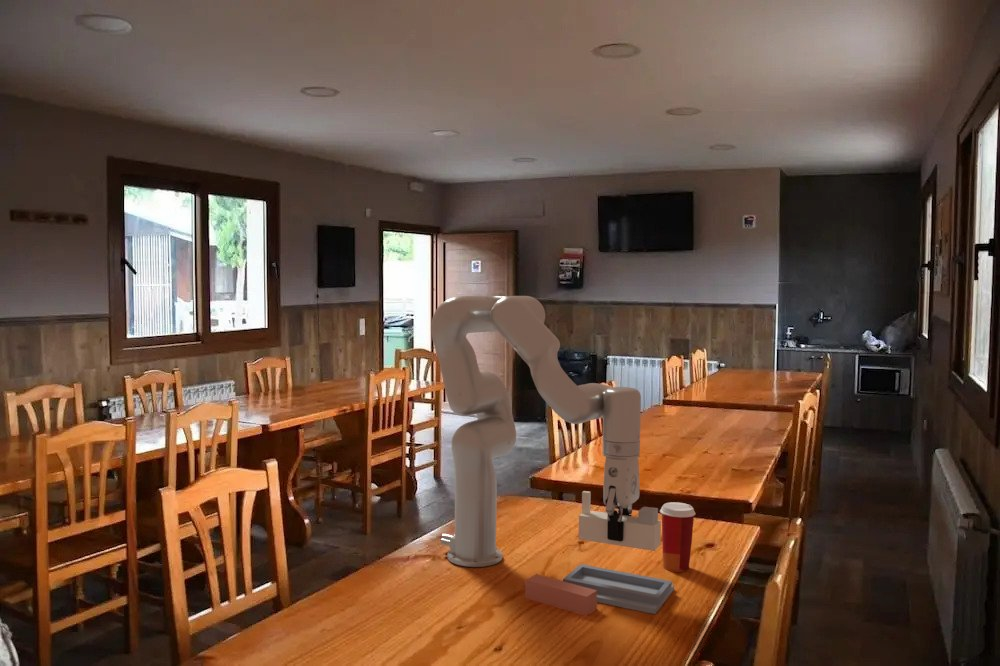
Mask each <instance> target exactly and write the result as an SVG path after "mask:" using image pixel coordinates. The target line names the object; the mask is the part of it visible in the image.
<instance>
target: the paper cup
mask: <svg viewBox="0 0 1000 666" xmlns="http://www.w3.org/2000/svg"><path fill="white" fill-rule="evenodd" d="M659 513H660V514H661V537H662V540H661V541H662V566H663V569H665V570H667V571H669V572H673V573H684V572H685V573H686V572H688V571H689V570H690V562H691V554H692V553H691V551H692V550H691V549H692V541H693V529H694V528H693V527H694V520H695V519H694V518H695V516H696V512H695V509H694V507H693V506H692V505H691V504H687V503H684V502H678V501H677V502H674V501H673V502H671V501H670V502H666V503H664V504H663V505H662V506H661V508H660V509H659Z"/></svg>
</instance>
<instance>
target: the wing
mask: <svg viewBox="0 0 1000 666" xmlns="http://www.w3.org/2000/svg"><path fill="white" fill-rule="evenodd" d="M524 590H525V594H524V597H525V599H527V600H531V601H534V602H538V603H541V604H543V605H544V604H545V605H549V606H551V607H555V608H557V609H558V608H559V609H562V610H565V611H569V612H572V613H576V614H579V615H583V616H588V615H590V614H591V613H593V612H594V611H595V610H597V604H598V602H597V590H594V589H590V588H586V587H582V586H579V585H575V584H571V583H567V582H564V581H563V580H559V579H556V578H552V577H548V576H545V575H542V574H537V573H536V574H534V575H533V576H530V577H527V579H525V589H524Z"/></svg>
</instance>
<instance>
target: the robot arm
mask: <svg viewBox="0 0 1000 666" xmlns="http://www.w3.org/2000/svg"><path fill="white" fill-rule="evenodd" d="M545 321H546V311H545V308H544V306H543V304H542V303H541V302H540V301H539V300H538V299H536V298H535V297H533V296H530V295H510V296H507V295H500V296H499V295H459V296H454V297H450V298H449V299H446V300H445V301H443V302H441V304H440V305H439V306H438V307H436V309H435V311H434V313H433V315H432V318H431V323H430V324H431V325H430V332H431V339H432V343H433V345H434V350H435V351H436V355H437V358H438V362H439V367H440V372H441V376H442V377H441V378H442V380H443V385H444V389H445V394H446V399H447V402H448V406H449V409H450V410H451V411H452V412H453V413H454V414H455V415H457V416H461V417H464V416H465V417H469V416H474V415H476V418H477V419H476V420H472V421H468V422H465V423H464V424H462V425H461V426H458V428H457V429H456V430H455V432H454V434H453V436H452V438H451V454H452V459H453V464H454V535H453V534H452V535H451V534H449V533H442V535H441V536H440V537H441V538H440V545H442V546H449V550H448V551H447V560H448V561H449V562H450V563H452V564H455V565H457V566H462V567H468V568H480V567H481V568H484V567H489V566H493V565H497V564H498V563H500V562H501V561H503V552H502V551H501V550H500V549H499V548H497V509H498V507H497V501H498V496H497V495H498V490H497V489H498V484H497V482H498V481H497V473H496V471H495V467H494V464H493V460H494V459H496V458H500V457H502V456H505V455H507V454H508V453H510V452H511V451H512V449H514V447H515V445H516V441H517V431H516V424H515V420H514V416H513V411H512V407H511V402H510V399H509V394H508V391H507V388H506V385H505V384H504V382H503V380H502V379H501V377H499V376H498V375H497V374H495V373H494V372H491V371H486V370H485V371H480V368H479V363H478V361H477V360H478V359H477V355H476V352H475V350H474V348H473V346H472V344H471V343H470V341H469V340H468V338H467V335H468V334H473V333H474V334H475V333H486V332H487V333H488V332H493V333H495V332H497V333H499V334H500V335H501V336H502V337H503V339H505V340H506V342H507V343H508V344H509V345H510V346H511V347H512V349H513V350H514V351H515V352H516V353H517V354H518V356H519V357H520V358H521V359H522V360H523V361H524V362H525V363H526V364H527V366H528V367H529V370H530V375H531V378H532V381H533V383H534V386H535V388H536V390H537V392H538V394H539V395H540V396H541V398H542V399H543V401H545V402H546V404H547V405H548V406H549V407H550V408H551V410H552V411H553V412H554V413H555V414H557V416H558V417H559V418H561V419H562V420H563V421H565V422H566V423H569V424H573V425H579V424H583V423H587V422H589V421H594V420H598V419H602V456H603V457H605V462H604V471H603V487H602V488H603V489H602V490H603V491H602V492H603V493H602V494H603V497H602V498H603V504H604V505H605V506H606V508H605V513H607V514H608V516H607V520H608V530H607V538H608V539H609V540H614V541H623V531H624V522H623V521H622V515H626V516H633V515H632V513H633V504H634V503H636V502H637V500H639V498H640V490H641V489H640V463H639V458H640V457H641V456H640V455H641V409H642V398H641V397H642V396H641V392H640V391H639V389H636V388H633V387H625V386H616V387H615V386H610V385H605V384H602V383H596V382H590V383H585V384H580V385H577V384H576V383H575V382H574V381H573V380H572V379H571V378H570V377H569V376H568V374H567V373H566V371H565V370H564V369H563V367H561V364H560V362H559V359H558V352H559V350H560V348H561V343H560V340H559V338H557V336H556V335H555V334H554V333H553V332H552V331H551V330H550V329H549V328H548V327H547V325H545ZM616 503H617V505H616Z"/></svg>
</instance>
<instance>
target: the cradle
mask: <svg viewBox="0 0 1000 666" xmlns="http://www.w3.org/2000/svg"><path fill="white" fill-rule="evenodd" d="M562 581H564V582H567V583H571V584H575V585H579V586H582V587H586V588H590V589H594V590H597V603H600V604H604V605H610V606H614V607H620V608H624V609H628V610H633V611H638V612H642V613H648V614H652V615H656V614H657V612H658V611H659V610H660V608H661V607H662V606H663V605H664V603H665V602H666V601H667V599H668V598H669V597H670V596H671V594H672V593H673V592H674V590H675V585H674V584H673V582H672V580H668V579H667V580H666V579H662V578H658V577H657V578H656V577H651V576H645V575H642V574H641V575H640V574H637V573H636V574H635V573H630V572H624V571H619V570H614V569H609V568H604V567H597V566H594V565H593V566H592V565H588V564H583V563H580V564H579V565H577V566H576V568H574V569H573V570H572V571H571V572H569V573H568V574H567V575H566V576H565V577H563V578H562Z"/></svg>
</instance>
